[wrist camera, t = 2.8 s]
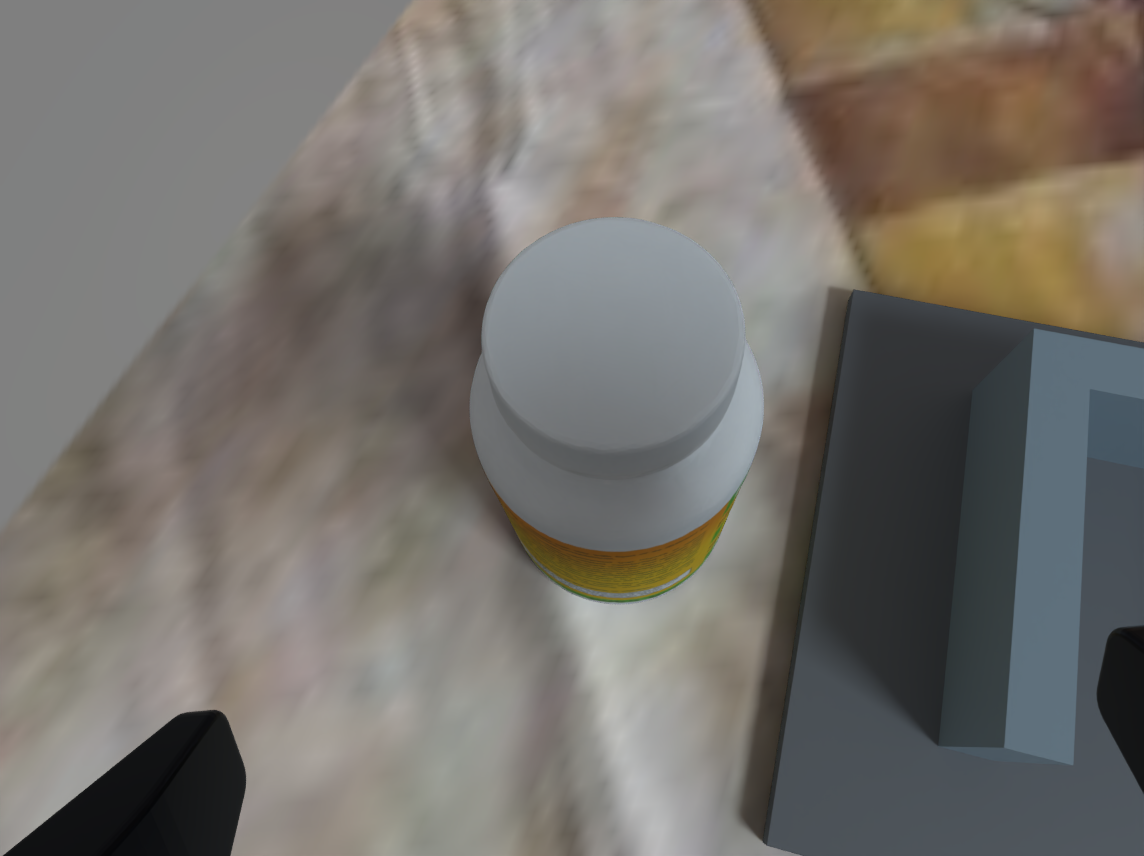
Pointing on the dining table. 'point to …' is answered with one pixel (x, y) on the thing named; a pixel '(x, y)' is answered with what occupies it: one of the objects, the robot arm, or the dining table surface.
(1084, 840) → the notch holder
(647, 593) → the supplement bottle
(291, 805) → the dining table surface
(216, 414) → the dining table surface
